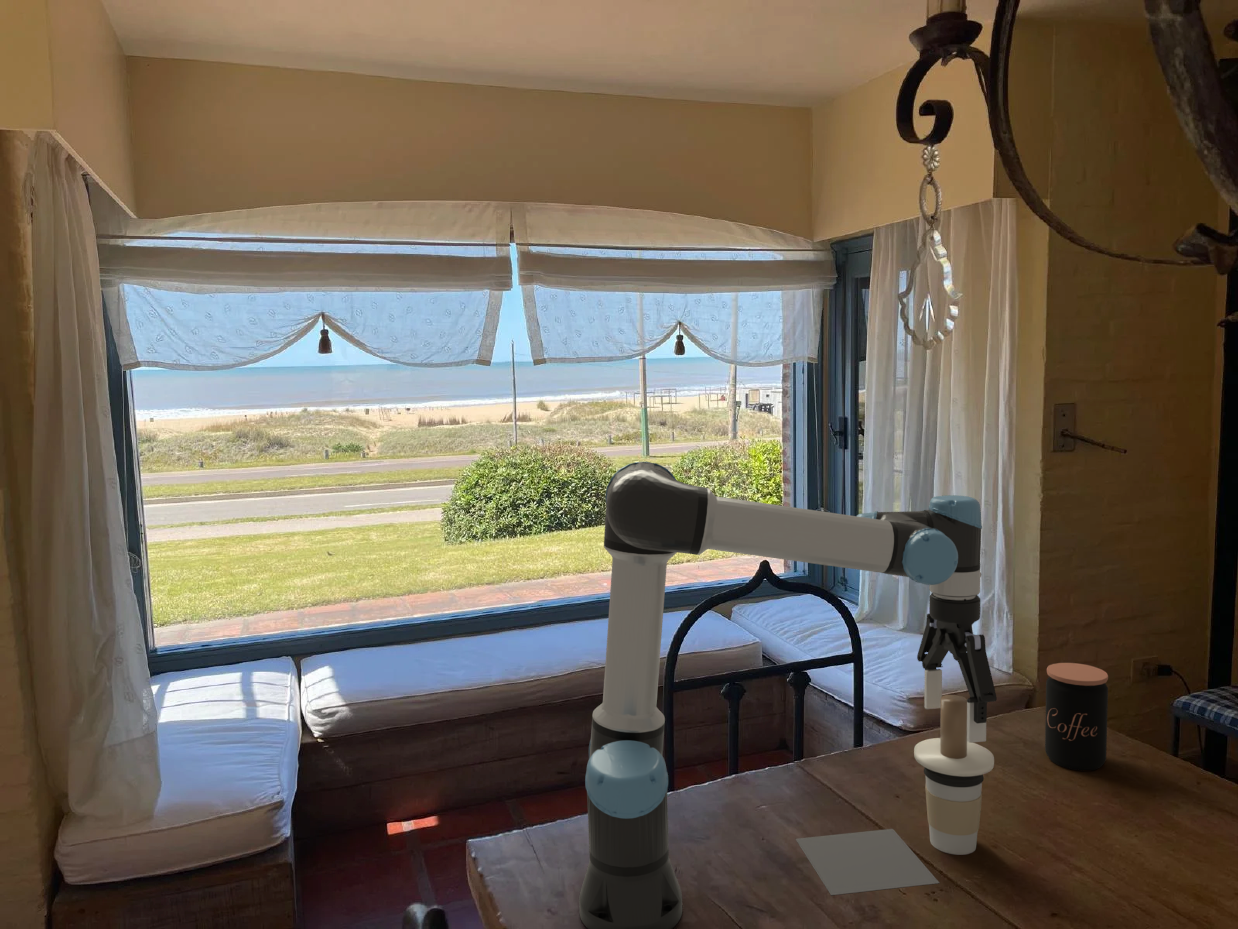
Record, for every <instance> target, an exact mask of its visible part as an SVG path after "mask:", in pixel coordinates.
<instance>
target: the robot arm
mask: <svg viewBox="0 0 1238 929" xmlns="http://www.w3.org/2000/svg"><path fill="white" fill-rule="evenodd" d="M982 529H983V524H982V510H981V504H980V502H979V500H977V499H976V498H974V497H971V496H967V495H966V496H965V495H956V494H955V495H954V494H953V495H952V494H951V495H950V494H949V495H945V494H944V495H939V496H938V495H936V496H934V497H932V498H931V499H930V501H929V506H928V509H924V510H915V511H913V510H912V511H878V510H876V511H873V512H863V513H859V514H857V515H856V516H855V515H848V514H842V513H835V512H828V511H822V510H814V509H807V508H799V507H793V506H788V505H787V506H785V505H780V504H773V503H766V502H765V503H764V502H759V501H758V502H757V501H753V500H752V501H750V500H744V499H737V498H732V497H731V498H729V497H723V496H716V495H715V494H714V493H713V492H712V491H711V489H710V488H709V487H705V486H698V485H692V484H689V483H685V482H683V481H681V480H680V481H679V480H677V478H676V477H675V476H674V474H673V473H672V472H671V471H670V470H669V469H667V468H666V467H665V466H663V465H661V464H659V463H656V462H651V461H635V462H632V463H628V464H626V465H624V466H623V467H621V468H619V469H618V470H617V471H616V472H615V473H614V474H613V475H612V477H611V478H610V480H609V482H608V483H607V486H606V490H605V521H604V535H603V536H604V537H603V549H604V550H606V552H608V554H609V555H610V556H611V558H612V563H611V564H612V565H611V576H610V592H609V603H608V604H609V605H608V606H609V607H608V620H607V636H606V638H607V639H606V649H605V650H606V652H605V665H604V678H603V679H604V680H603V695H602V703H601V704H600V705H598V706H597V707H596V708H594V710H593V711H592V719H591V732H590V733H591V734H590V740H589V744H588V761H587V765H586V772H585V775H584V776H585V777H584V778H585V780H584V781H585V782H584V783H585V790H586V799H587V800H586V801H587V823H588V824H587V825H588V826H587V827H588V828H587V829H588V850H589V851H588V852H589V854H588V855H589V861H588V864H587V868H586V872H585V876H584V879H583V882H582V885H581V889H580V892H579V898H578V903H579V907H578V908H579V910H578V911H579V918H580V920H581V922H582V924H583V925H584V926H585V927H586V929H673V928H675V927H676V925H677V924H678V923H679V922H680V920H681V918H682V916H683V895H682V894H683V893H682V889H681V886H680V884H679V881H678V878H677V876H676V873H675V870H674V868H673V865H672V862H671V860H670V852H669V851H670V849H669V817H668V816H669V814H668V812H669V811H668V805H669V804H668V787H669V775H668V774H669V773H668V769H667V766H666V761H665V758H664V757H663V751H664V737H665V736H664V735H665V724H666V723H665V721H666V718H665V715H664V713H662V711H660V710H659V708H658V707H657V700H658V688H659V686H658V685H659V676H660V675H659V674H660V661H661V647H662V637H663V636H662V632H663V619H664V606H665V595H666V594H665V593H666V581H667V580H666V579H667V566H668V565H667V564H668V561H669V560H670V559H672V558H673V557H674V556H675V555H676V554H677V553H680V554H690V555H695V556H700V555H701V554H703V553H704V552H706V551H707V550H713V551H720V552H726V553H727V552H728V553H733V554H734V553H735V554H743V555H750V556H756V557H757V556H758V557H763V558H770V559H771V558H772V559H779V560H785V561H792V562H800V563H808V564H815V565H822V566H829V567H831V566H832V567H837V568H843V569H844V568H845V569H849V570H850V569H851V570H859V571H867V572H872V573H873V572H874V573H881V574H887V575H891V576H892V575H893V576H899V577H905V578H909V579H910V580H912V581H914V582H915V583H920V584H922V585H926V586H929V591H930V592H931V593H930V594H929V609H928V610H929V611H928V613H927V614H926V617H925V618H926V620H925V621H926V622H925V628H924V631H923V635H922V637H921V641H920V645H919V649H918V651H917V655H916V660H917V661H918V662H921V665H922V666H921V667H922V668H923V670H924V701H923V703H924V707H923V708H924V709H925V710H934V709H941V697H942V696H943V670H942V669H940V668H944V666H943V664H942V662H943V661H944V659H945V657H946V656H947V655H948V652H949V653H950V654H952V657H953V660H954V661H957V662H958V666H959V668H960V672H961V674H962V677H963V680H964V682H965V686H966V688H967V689H966V690H967V692H968V695H969V698H966V699H967V741H968V742H969V743H981V742H986V741H987V720H988V718H987V714H988V712H987V711H988V709H987V708H988V703H992V702H993V703H994V702H997V698H998V697H997V694H996V689H995V686H994V681H993V677H992V671H991V667H990V663H989V659H988V658H989V657H988V654H987V649H986V637H985V635H984V634H982V633H981V634H974V632H973V624H974V623H976V622H978V621H979V620H980V619H981V598H980V597H979V594H980V593H981V577H982V572H981V550H982V549H981V548H982V547H981V546H982Z"/></svg>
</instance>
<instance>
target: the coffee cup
mask: <svg viewBox="0 0 1238 929" xmlns="http://www.w3.org/2000/svg"><path fill="white" fill-rule="evenodd" d="M923 773H924V774H923V775H925V776H924V777H925V785H924V787H925V801H926V812H927V822H928V828H929V841H930V845H932V846H933V847H934V848H935V849H937V850H938V851H939V852H940V851H941V852H943V853H946V854H949V855H957V856H959V855H961V856H962V855H963V856H964V855H969V854H972V853H974V852H975V851H976V849H977V843H978V842H977V840H978V831H979V829H980V822H981V821H980V819H981V812H982V810H981V809H982V801H983V800H982V797H983V791H982V789H983V788H982V786H983V782H984V779H985V778H984V774H983V775H978V776H952V775H946V774H942V773H938V772H935V771H932V770H930V769H927V768H925V767H924V766H923Z"/></svg>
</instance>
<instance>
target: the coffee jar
mask: <svg viewBox="0 0 1238 929" xmlns="http://www.w3.org/2000/svg"><path fill="white" fill-rule="evenodd" d="M1046 673H1047V676H1048V677H1047V679H1046V682H1045V727H1044V728H1045V730H1044V735H1045V736H1044V737H1045V738H1044V751H1045V753H1046V756H1047V757H1048V758H1049V760H1050V761H1051V762H1052V763H1054V764H1056V765H1057V766H1059V767H1061V768H1065V769H1068V770H1074V771H1080V770H1082V771H1083V770H1092V771H1096V769H1097V770H1098V768H1099V769H1100V767H1101V768H1102V766H1104V764H1105V763H1106V761H1107V746H1108V744H1107V742H1108V741H1107V738H1108V712H1109V711H1108V707H1109V706H1108V705H1109V704H1108V703H1109V702H1108V701H1109V687H1108V685H1107V684H1106V683H1107V682H1108V680H1109V675H1108V672H1106V671H1105V670H1103V669H1101V668H1098V667H1096V666H1093V665H1090V664H1083V663H1075V662H1058V663H1051V664H1049V665H1048V666H1047V668H1046Z"/></svg>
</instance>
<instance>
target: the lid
mask: <svg viewBox="0 0 1238 929" xmlns="http://www.w3.org/2000/svg"><path fill="white" fill-rule="evenodd" d="M967 699H968V698H966V697H964V696H961V695H955V694H945V695H942V697H941V708H940V734H939V735H940V737H935V738H933V737H932V738H927V739H925V740H922V741H919V742H917V744H915V745H914V749H913V751H914V752H913V754H914V755H913V757H914V759H915V761H916V762H917V763H918V764H919V765H920V766H922V767H923V768H924V767H925V768H927V769H930V770H932V771H935V772H938V773H942V774H946V775H952V776H978V775H983V776H984V775H985V774H988V773H990V772H991V771H992V770H993V768H994V767H995V757H994V754H993V753H992V751H990V750H989V749H988V748H987V747H984V746H982V745H980V744H978V743H976V742H972V743H969V742H968V741H967Z"/></svg>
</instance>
